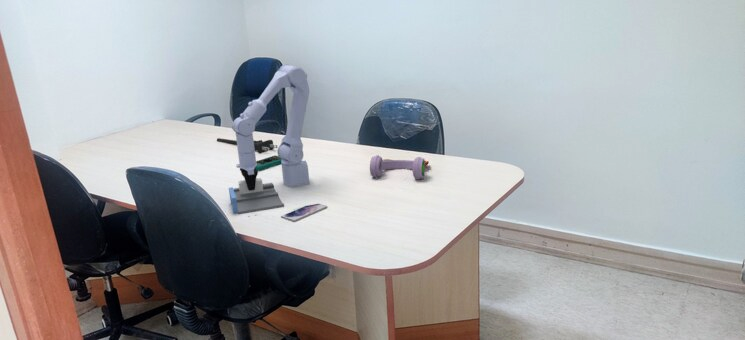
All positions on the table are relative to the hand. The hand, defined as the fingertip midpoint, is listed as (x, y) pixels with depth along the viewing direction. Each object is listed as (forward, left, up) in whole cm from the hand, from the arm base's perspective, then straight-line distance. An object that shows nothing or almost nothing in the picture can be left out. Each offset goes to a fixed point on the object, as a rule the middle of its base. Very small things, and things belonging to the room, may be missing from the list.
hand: (251, 188), depth 195 cm
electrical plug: (-6, -70, -4) cm, 70 cm away
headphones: (-58, 0, -3) cm, 58 cm away
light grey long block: (-2, 0, -1) cm, 2 cm away
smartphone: (-14, +24, -4) cm, 28 cm away
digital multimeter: (-11, -34, -4) cm, 36 cm away
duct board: (-1, +6, -3) cm, 6 cm away
